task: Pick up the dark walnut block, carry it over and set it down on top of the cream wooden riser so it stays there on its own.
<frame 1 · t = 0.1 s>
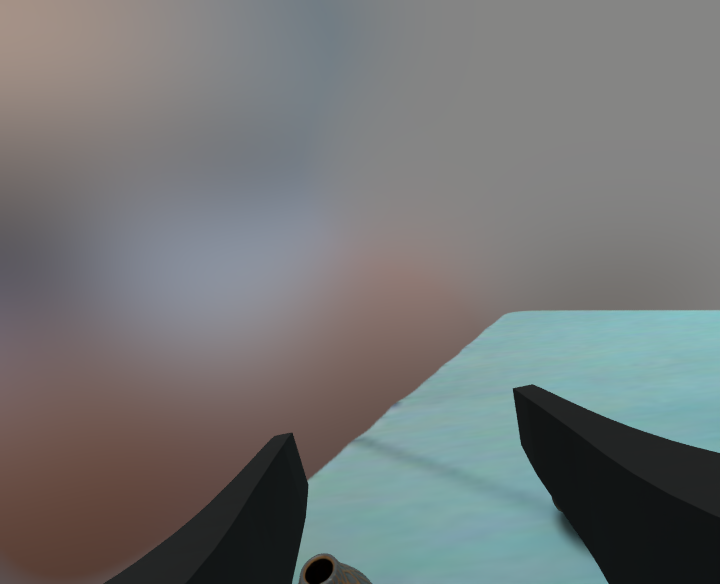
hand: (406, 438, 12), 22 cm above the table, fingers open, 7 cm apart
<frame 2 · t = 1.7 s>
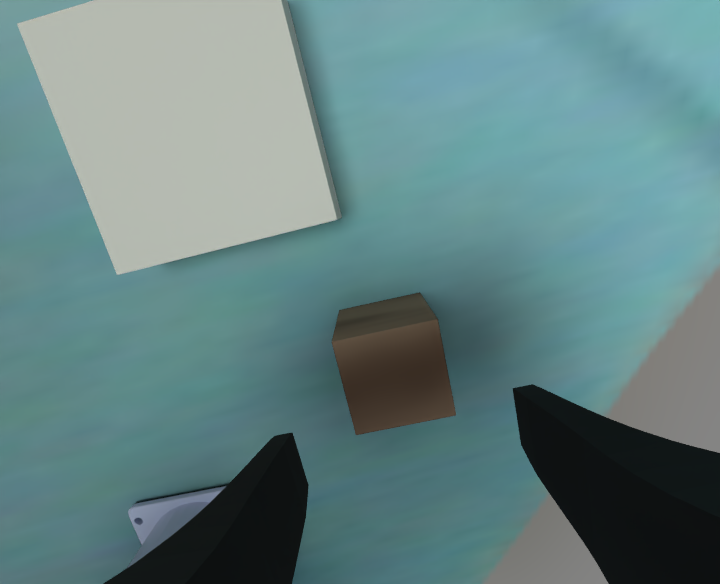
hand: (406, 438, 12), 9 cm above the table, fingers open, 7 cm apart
walnut block: (387, 338, 20), on the table
riser: (222, 143, 19), on the table
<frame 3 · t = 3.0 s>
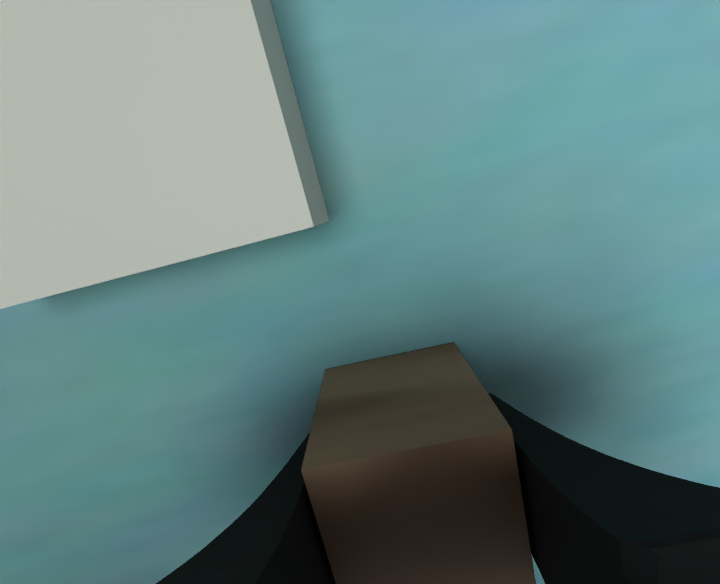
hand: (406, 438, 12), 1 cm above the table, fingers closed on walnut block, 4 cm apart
walnut block: (401, 413, 13), on the table, touching gripper
riser: (129, 100, 11), on the table
when the fingers open (6 cm above the table, at t = 6.3 s): walnut block drops 1 cm, point 4 cm above the table.
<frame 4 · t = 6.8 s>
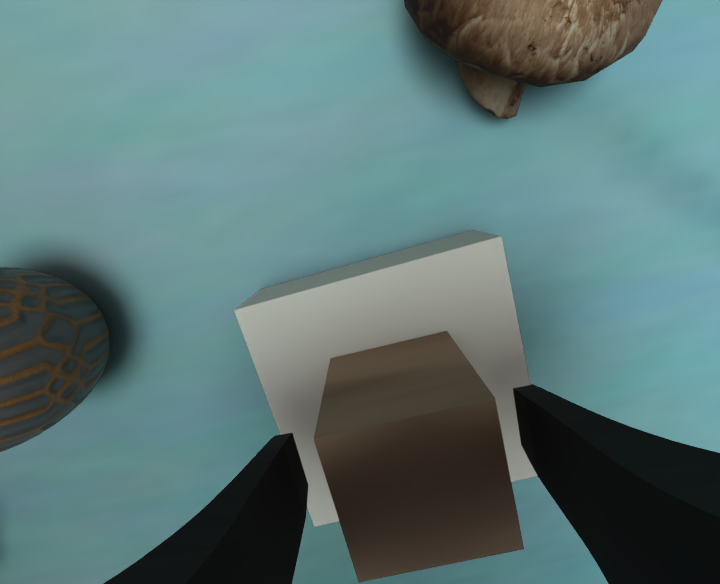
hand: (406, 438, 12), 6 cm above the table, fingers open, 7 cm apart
walnut block: (401, 397, 14), point 4 cm above the table
riser: (391, 355, 18), on the table
vase: (68, 326, 18), on the table
mushroom: (495, 27, 15), on the table
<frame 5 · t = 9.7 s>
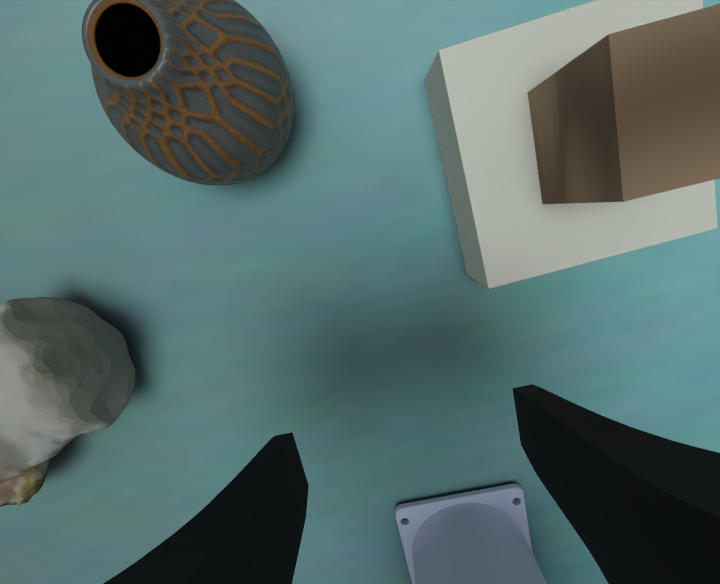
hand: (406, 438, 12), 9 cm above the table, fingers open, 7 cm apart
walnut block: (590, 136, 15), point 4 cm above the table, touching riser
riser: (539, 156, 19), on the table, touching walnut block
ceramic sculpture: (54, 375, 22), on the table
vase: (237, 118, 18), on the table
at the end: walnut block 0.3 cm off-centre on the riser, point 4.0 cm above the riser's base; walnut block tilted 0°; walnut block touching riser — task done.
